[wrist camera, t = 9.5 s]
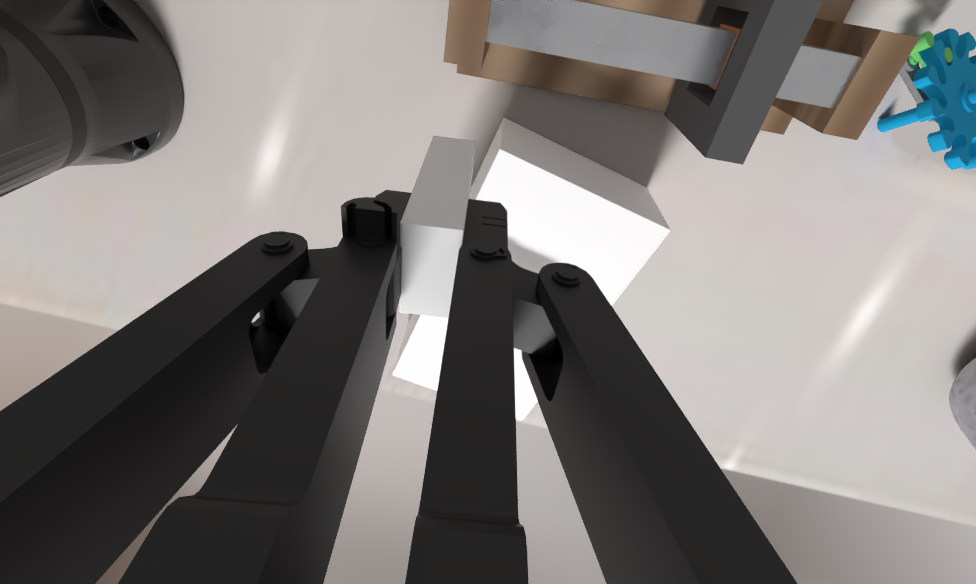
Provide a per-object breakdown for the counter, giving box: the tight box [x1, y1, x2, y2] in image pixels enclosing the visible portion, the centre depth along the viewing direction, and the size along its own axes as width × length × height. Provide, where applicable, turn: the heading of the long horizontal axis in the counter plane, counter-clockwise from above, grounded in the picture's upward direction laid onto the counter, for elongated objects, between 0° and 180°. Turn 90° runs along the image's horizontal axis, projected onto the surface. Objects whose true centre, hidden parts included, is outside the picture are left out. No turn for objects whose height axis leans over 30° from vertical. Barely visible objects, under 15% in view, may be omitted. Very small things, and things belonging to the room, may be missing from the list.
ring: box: [664, 0, 824, 164], centre depth 30 cm, size 2×10×10 cm, turn 171°
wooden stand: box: [444, 0, 920, 140], centre depth 32 cm, size 27×10×9 cm, turn 81°
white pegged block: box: [392, 117, 671, 421], centre depth 44 cm, size 14×25×11 cm, turn 156°
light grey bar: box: [485, 0, 862, 108], centre depth 30 cm, size 25×3×3 cm, turn 81°
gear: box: [877, 29, 976, 169], centre depth 35 cm, size 11×6×10 cm
